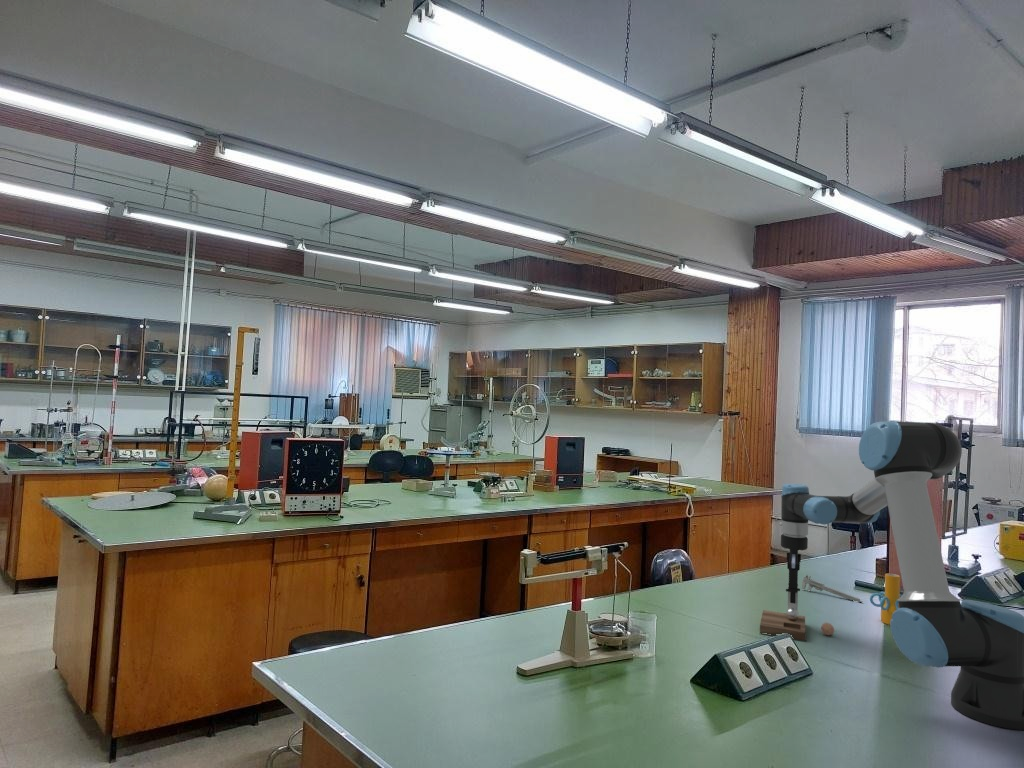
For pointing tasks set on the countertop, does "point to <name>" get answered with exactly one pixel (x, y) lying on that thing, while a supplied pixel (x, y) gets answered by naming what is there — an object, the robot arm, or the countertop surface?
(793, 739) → the countertop surface
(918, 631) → the robot arm
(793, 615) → the steel ball
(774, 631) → the hole plate
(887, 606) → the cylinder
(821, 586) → the caliper
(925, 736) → the countertop surface
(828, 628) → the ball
